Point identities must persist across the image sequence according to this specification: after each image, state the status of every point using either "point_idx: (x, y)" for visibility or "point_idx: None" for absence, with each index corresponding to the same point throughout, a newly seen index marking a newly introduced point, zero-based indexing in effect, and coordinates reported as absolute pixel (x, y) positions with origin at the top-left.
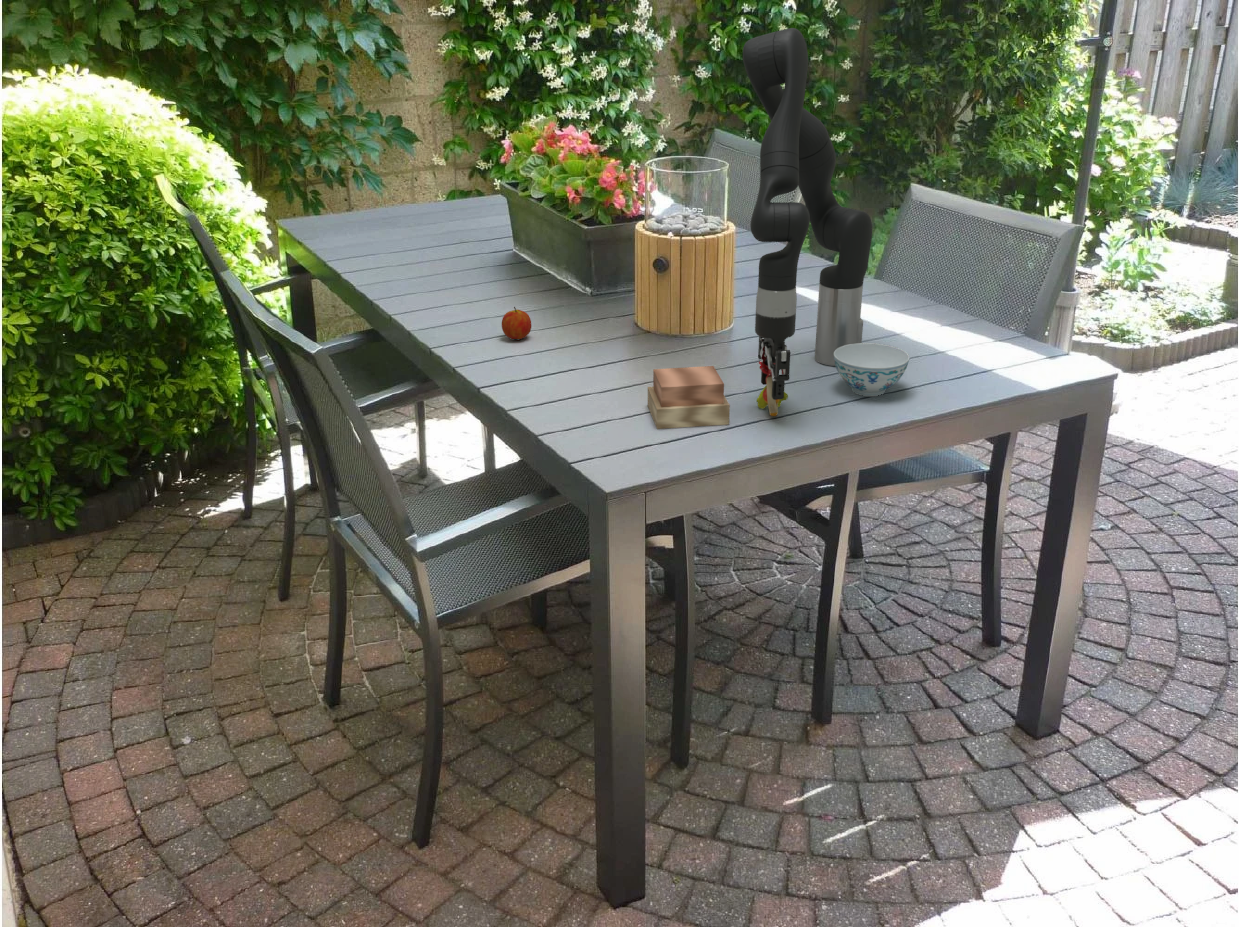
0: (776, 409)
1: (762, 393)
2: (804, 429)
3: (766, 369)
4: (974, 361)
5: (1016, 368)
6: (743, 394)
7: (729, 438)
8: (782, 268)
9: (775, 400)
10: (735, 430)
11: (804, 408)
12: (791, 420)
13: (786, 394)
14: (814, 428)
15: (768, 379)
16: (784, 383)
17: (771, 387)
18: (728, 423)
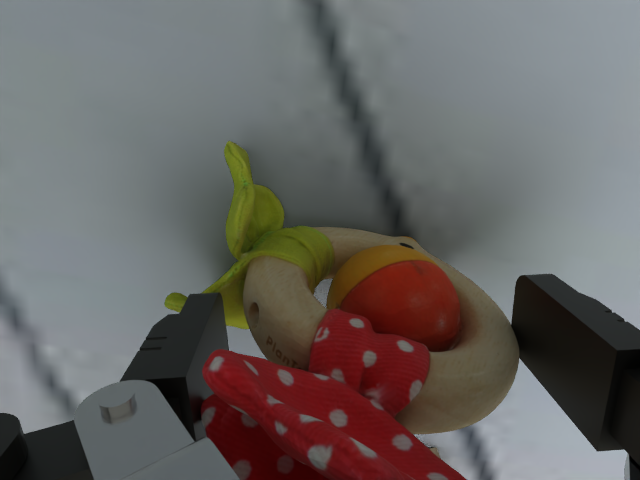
0: (444, 262)
1: (236, 319)
2: (590, 116)
3: (280, 455)
4: None
5: None
6: (47, 338)
7: (577, 461)
8: None
9: (494, 306)
10: (504, 431)
11: (282, 30)
12: (451, 159)
13: (243, 159)
14: (595, 52)
15: (446, 430)
16: (631, 331)
17: (507, 386)
18: (437, 453)
